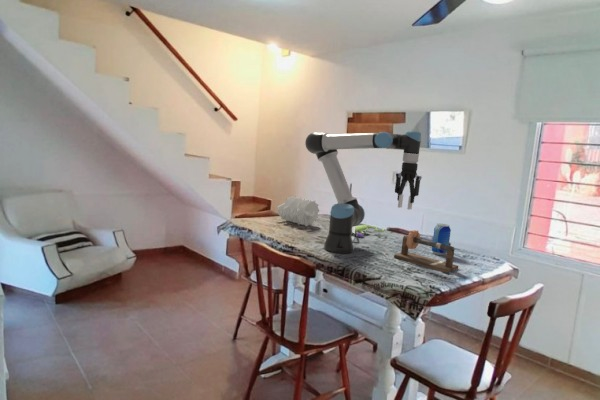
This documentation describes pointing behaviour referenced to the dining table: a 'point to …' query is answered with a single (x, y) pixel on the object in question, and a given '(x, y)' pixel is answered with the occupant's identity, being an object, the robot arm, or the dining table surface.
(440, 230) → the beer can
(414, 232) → the ring
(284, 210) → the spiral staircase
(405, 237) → the pipe stand
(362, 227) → the figurine
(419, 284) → the dining table surface
